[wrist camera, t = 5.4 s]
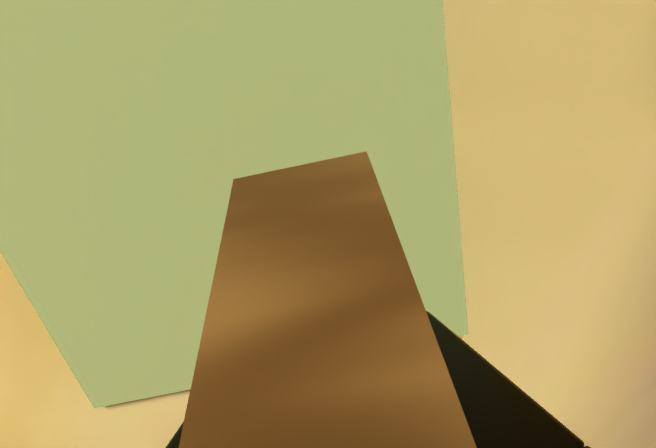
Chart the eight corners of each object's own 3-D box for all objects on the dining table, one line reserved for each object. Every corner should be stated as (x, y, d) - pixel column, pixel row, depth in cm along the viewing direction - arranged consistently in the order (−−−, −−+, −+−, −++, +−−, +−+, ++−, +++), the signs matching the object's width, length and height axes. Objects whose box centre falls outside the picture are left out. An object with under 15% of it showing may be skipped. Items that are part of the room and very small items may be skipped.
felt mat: (417, -213, 13) (425, -221, 12) (462, 321, 21) (468, 334, 20) (-173, -79, 13) (-198, -79, 12) (100, 392, 21) (94, 408, 21)
